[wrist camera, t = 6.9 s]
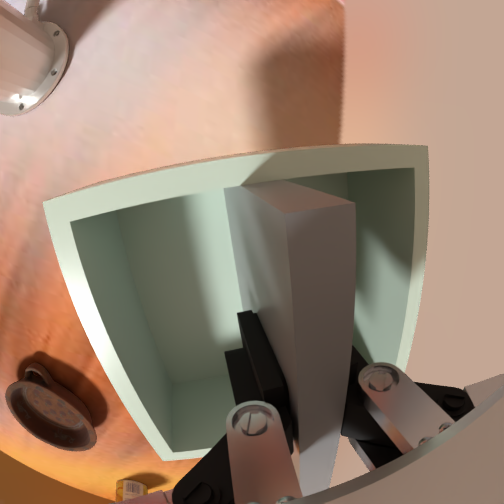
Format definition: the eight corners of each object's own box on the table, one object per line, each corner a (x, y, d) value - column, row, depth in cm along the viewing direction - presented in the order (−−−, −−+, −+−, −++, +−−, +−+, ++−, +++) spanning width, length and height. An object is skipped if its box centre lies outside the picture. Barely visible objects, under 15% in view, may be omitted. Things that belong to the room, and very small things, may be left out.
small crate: (99, 181, 12) (-42, 241, 3) (349, 143, 14) (516, 156, 5) (164, 385, 17) (166, 526, 8) (351, 341, 19) (433, 445, 9)
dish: (89, 366, 35) (81, 389, 31) (109, 445, 42) (107, 464, 37) (-1, 345, 31) (-13, 363, 26) (34, 427, 37) (28, 444, 32)
